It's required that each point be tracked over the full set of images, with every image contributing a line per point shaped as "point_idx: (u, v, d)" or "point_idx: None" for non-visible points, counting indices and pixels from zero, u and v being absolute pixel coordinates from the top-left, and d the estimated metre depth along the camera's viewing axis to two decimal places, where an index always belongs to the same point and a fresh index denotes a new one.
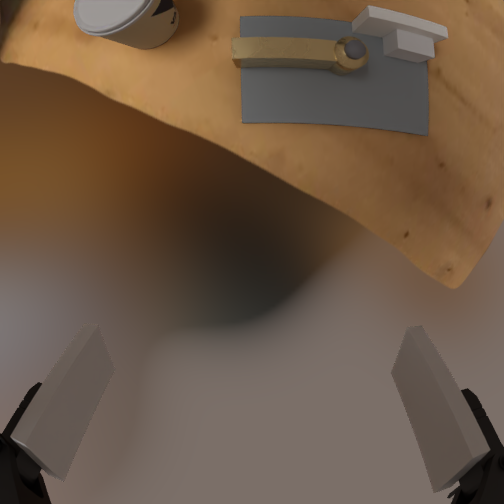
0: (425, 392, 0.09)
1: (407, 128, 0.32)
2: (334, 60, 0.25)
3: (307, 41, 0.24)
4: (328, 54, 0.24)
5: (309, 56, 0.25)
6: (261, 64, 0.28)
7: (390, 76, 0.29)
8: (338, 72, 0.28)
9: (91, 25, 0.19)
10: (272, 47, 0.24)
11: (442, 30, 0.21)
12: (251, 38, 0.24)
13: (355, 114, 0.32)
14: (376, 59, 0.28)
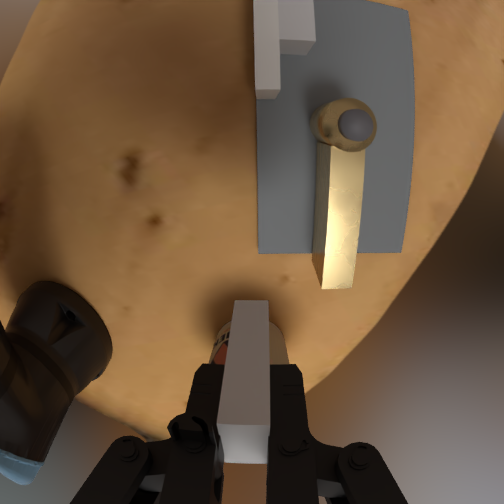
0: None
1: (405, 37, 0.18)
2: (363, 152, 0.18)
3: (334, 190, 0.19)
4: (355, 160, 0.18)
5: (359, 189, 0.19)
6: None
7: (339, 49, 0.20)
8: None
9: None
10: (343, 239, 0.21)
11: None
12: (326, 265, 0.21)
13: (400, 110, 0.21)
14: (315, 67, 0.20)
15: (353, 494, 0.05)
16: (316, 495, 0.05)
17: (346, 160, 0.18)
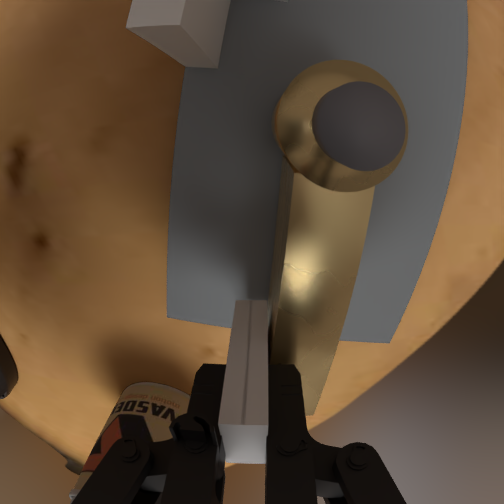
0: None
1: (459, 14, 0.09)
2: (370, 192, 0.08)
3: (294, 271, 0.09)
4: (348, 210, 0.08)
5: (350, 270, 0.09)
6: None
7: (348, 2, 0.10)
8: None
9: None
10: (304, 355, 0.11)
11: None
12: None
13: (439, 122, 0.12)
14: (301, 22, 0.10)
15: (351, 494, 0.05)
16: (315, 495, 0.05)
17: (328, 208, 0.08)
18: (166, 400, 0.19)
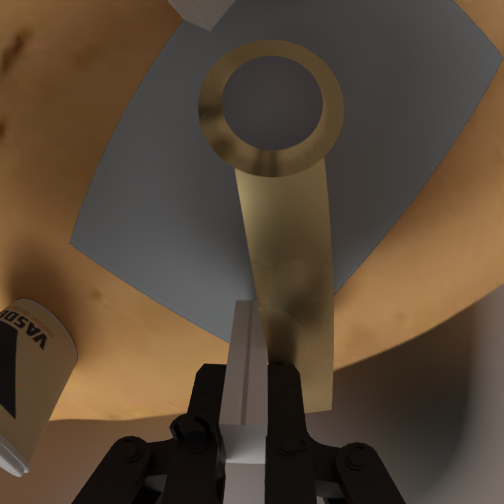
0: None
1: (479, 82, 0.10)
2: (321, 168, 0.08)
3: (263, 267, 0.09)
4: (302, 193, 0.08)
5: (322, 255, 0.09)
6: None
7: (367, 21, 0.10)
8: None
9: (11, 470, 0.10)
10: (302, 350, 0.10)
11: None
12: None
13: (404, 168, 0.13)
14: (309, 20, 0.10)
15: (351, 494, 0.05)
16: (314, 495, 0.05)
17: (280, 196, 0.08)
18: (44, 325, 0.17)
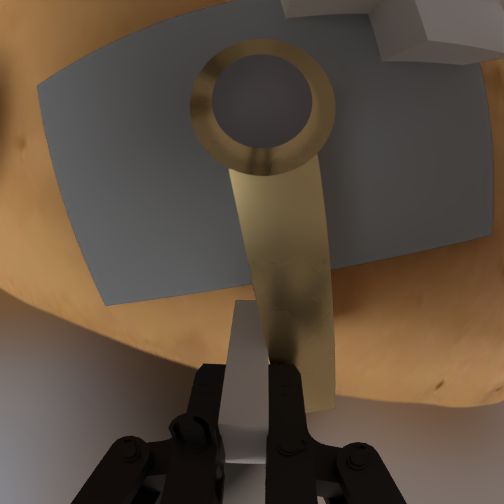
0: None
1: (453, 234, 0.14)
2: (315, 165, 0.08)
3: (261, 266, 0.09)
4: (297, 190, 0.08)
5: (319, 252, 0.09)
6: None
7: (408, 117, 0.12)
8: None
9: None
10: (302, 349, 0.10)
11: None
12: None
13: (331, 242, 0.14)
14: (365, 77, 0.11)
15: (352, 494, 0.05)
16: (315, 495, 0.05)
17: (275, 194, 0.08)
18: None
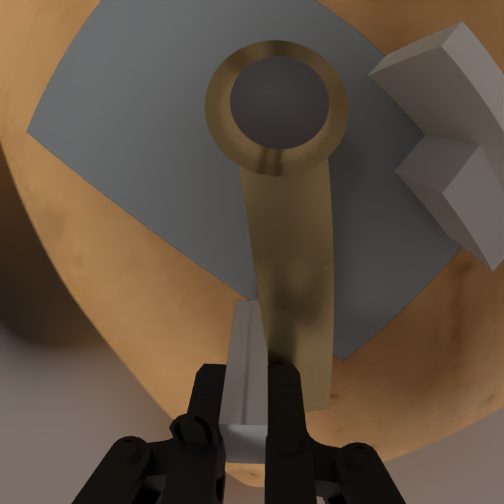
0: None
1: None
2: (325, 168, 0.08)
3: (265, 266, 0.09)
4: (305, 192, 0.08)
5: (324, 254, 0.09)
6: None
7: (368, 224, 0.14)
8: None
9: None
10: (301, 349, 0.10)
11: None
12: None
13: (220, 248, 0.15)
14: (370, 167, 0.13)
15: (351, 494, 0.05)
16: (314, 495, 0.05)
17: (283, 195, 0.08)
18: None
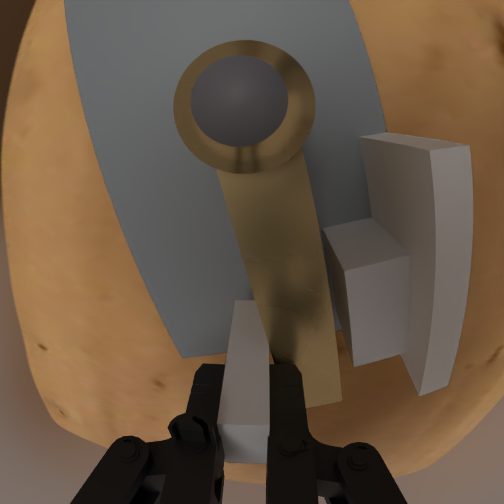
0: None
1: (170, 317, 0.17)
2: (301, 159, 0.08)
3: (255, 263, 0.09)
4: (284, 186, 0.08)
5: (312, 245, 0.09)
6: None
7: None
8: None
9: None
10: (304, 343, 0.10)
11: (436, 380, 0.10)
12: None
13: (135, 194, 0.14)
14: None
15: (353, 494, 0.05)
16: (316, 495, 0.05)
17: (263, 191, 0.08)
18: None
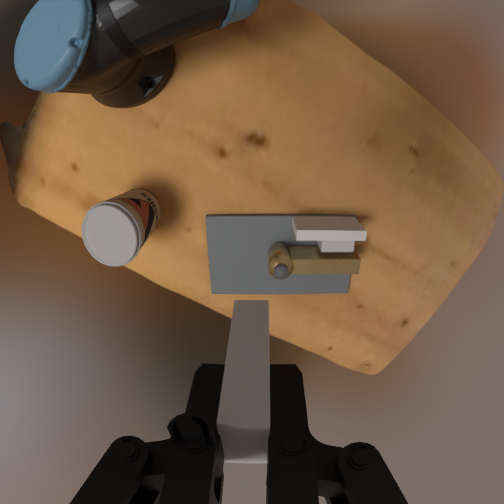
0: None
1: (330, 290, 0.51)
2: (293, 259, 0.43)
3: (310, 272, 0.44)
4: (297, 263, 0.43)
5: (310, 261, 0.43)
6: None
7: None
8: (283, 246, 0.46)
9: (101, 259, 0.38)
10: (334, 266, 0.43)
11: (361, 235, 0.40)
12: (346, 272, 0.44)
13: (289, 286, 0.51)
14: (309, 245, 0.48)
15: (353, 494, 0.05)
16: (316, 495, 0.05)
17: (297, 267, 0.44)
18: (158, 217, 0.46)
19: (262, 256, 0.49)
